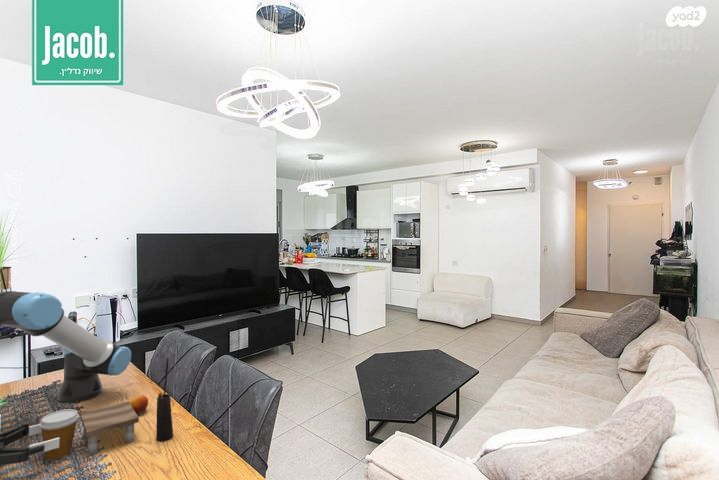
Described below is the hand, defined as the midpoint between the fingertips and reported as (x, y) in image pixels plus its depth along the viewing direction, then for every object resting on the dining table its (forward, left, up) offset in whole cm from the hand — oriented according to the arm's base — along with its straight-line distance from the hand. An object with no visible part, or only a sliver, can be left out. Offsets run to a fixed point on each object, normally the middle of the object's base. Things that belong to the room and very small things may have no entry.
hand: (57, 432), depth 109 cm
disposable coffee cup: (0, 0, -7) cm, 7 cm away
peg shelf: (0, +13, -7) cm, 15 cm away
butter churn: (+10, +27, -7) cm, 30 cm away
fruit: (-14, +24, -7) cm, 29 cm away
